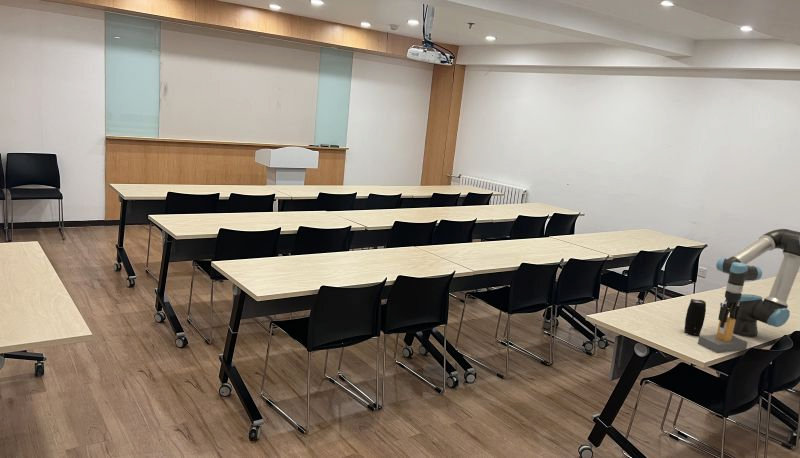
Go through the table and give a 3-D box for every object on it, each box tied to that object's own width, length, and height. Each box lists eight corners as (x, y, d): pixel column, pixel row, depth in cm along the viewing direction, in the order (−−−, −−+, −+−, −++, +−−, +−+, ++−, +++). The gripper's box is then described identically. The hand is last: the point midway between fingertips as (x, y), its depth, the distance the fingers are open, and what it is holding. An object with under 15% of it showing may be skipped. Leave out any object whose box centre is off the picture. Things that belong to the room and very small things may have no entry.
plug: (715, 340, 321) (720, 316, 318) (720, 339, 323) (725, 315, 320) (724, 344, 316) (730, 320, 313) (730, 344, 317) (735, 319, 315)
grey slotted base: (697, 343, 321) (699, 335, 320) (726, 341, 329) (728, 333, 329) (716, 352, 310) (718, 344, 309) (745, 350, 319) (747, 342, 318)
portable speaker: (699, 337, 331) (705, 304, 327) (681, 332, 336) (687, 300, 332) (702, 334, 337) (709, 301, 333) (684, 329, 343) (691, 297, 339)
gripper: (728, 294, 307) (719, 336, 312) (751, 293, 313) (742, 334, 318) (716, 289, 314) (707, 331, 318) (738, 288, 320) (729, 329, 325)
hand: (724, 332), depth 318 cm, fingers closed on plug, 4 cm apart
